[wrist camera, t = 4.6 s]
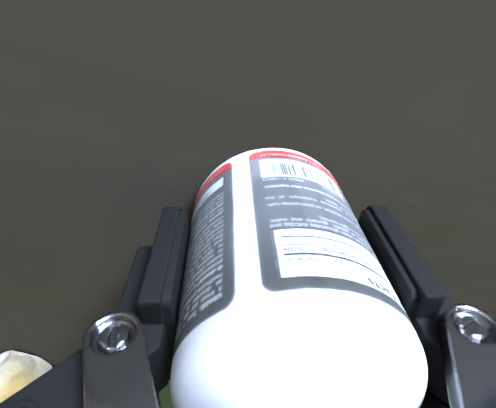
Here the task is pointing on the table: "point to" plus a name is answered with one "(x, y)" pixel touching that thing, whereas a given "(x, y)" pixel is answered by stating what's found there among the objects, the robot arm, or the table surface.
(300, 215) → the pill bottle
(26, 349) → the table surface
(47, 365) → the pastry
